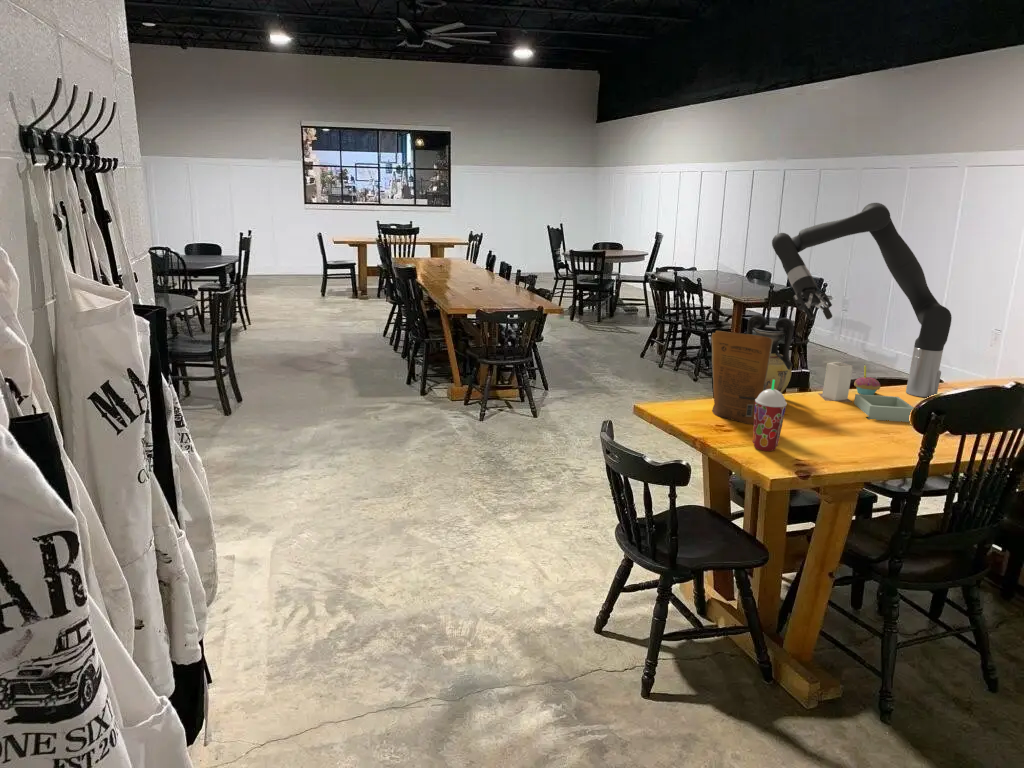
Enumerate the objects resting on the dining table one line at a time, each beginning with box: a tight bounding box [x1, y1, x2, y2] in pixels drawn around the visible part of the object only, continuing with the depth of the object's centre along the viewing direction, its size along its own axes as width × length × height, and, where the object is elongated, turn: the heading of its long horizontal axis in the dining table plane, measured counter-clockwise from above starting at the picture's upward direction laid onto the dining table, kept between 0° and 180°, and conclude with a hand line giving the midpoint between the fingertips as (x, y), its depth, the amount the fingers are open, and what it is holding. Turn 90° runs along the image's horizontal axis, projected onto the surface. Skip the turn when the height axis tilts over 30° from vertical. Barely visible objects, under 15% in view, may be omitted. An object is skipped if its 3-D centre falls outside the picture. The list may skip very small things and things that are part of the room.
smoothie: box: [752, 379, 788, 452], centre depth 203 cm, size 8×8×20 cm
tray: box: [853, 393, 915, 423], centre depth 241 cm, size 14×14×4 cm
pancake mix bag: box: [710, 330, 773, 425], centre depth 227 cm, size 7×19×28 cm, turn 46°
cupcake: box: [853, 365, 881, 395], centre depth 261 cm, size 9×8×12 cm
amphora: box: [746, 314, 795, 394], centre depth 247 cm, size 18×17×30 cm
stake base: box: [817, 392, 853, 403], centre depth 254 cm, size 9×9×9 cm
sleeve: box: [821, 361, 854, 402], centre depth 253 cm, size 6×6×12 cm
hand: (821, 318), depth 257 cm, fingers open, 8 cm apart
